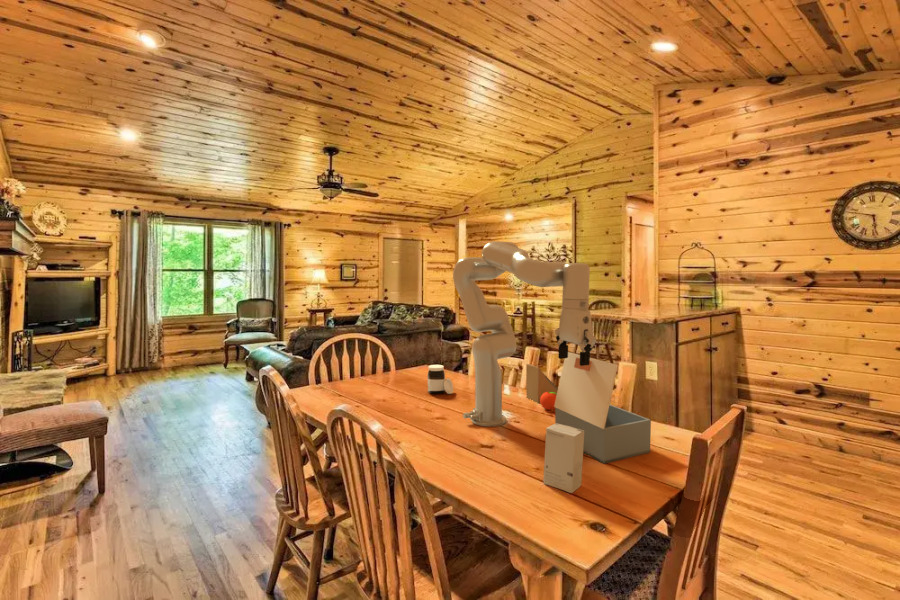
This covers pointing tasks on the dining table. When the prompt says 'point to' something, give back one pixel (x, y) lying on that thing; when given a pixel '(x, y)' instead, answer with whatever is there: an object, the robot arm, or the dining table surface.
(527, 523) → the dining table surface
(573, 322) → the robot arm
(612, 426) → the carton
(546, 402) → the tomato
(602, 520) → the dining table surface
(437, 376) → the spread jar
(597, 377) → the lid flap
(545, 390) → the sandwich container
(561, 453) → the skincare box
